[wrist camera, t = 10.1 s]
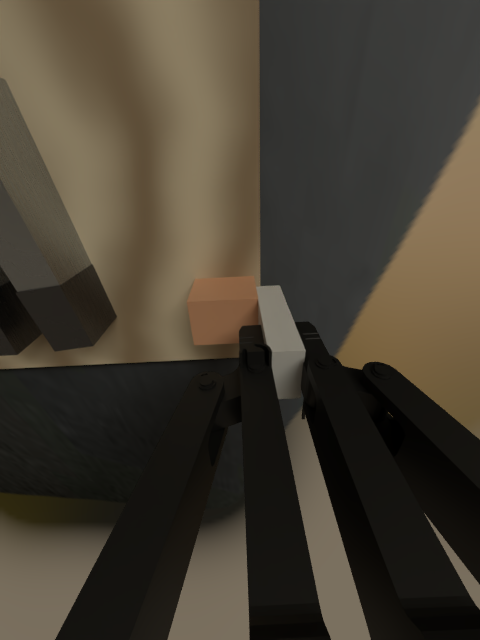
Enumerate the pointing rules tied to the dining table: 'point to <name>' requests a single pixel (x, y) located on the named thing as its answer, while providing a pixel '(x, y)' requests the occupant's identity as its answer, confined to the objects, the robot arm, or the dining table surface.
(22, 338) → the tongs fixed
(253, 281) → the orange block
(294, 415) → the dining table surface
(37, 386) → the dining table surface
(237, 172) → the board
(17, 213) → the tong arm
